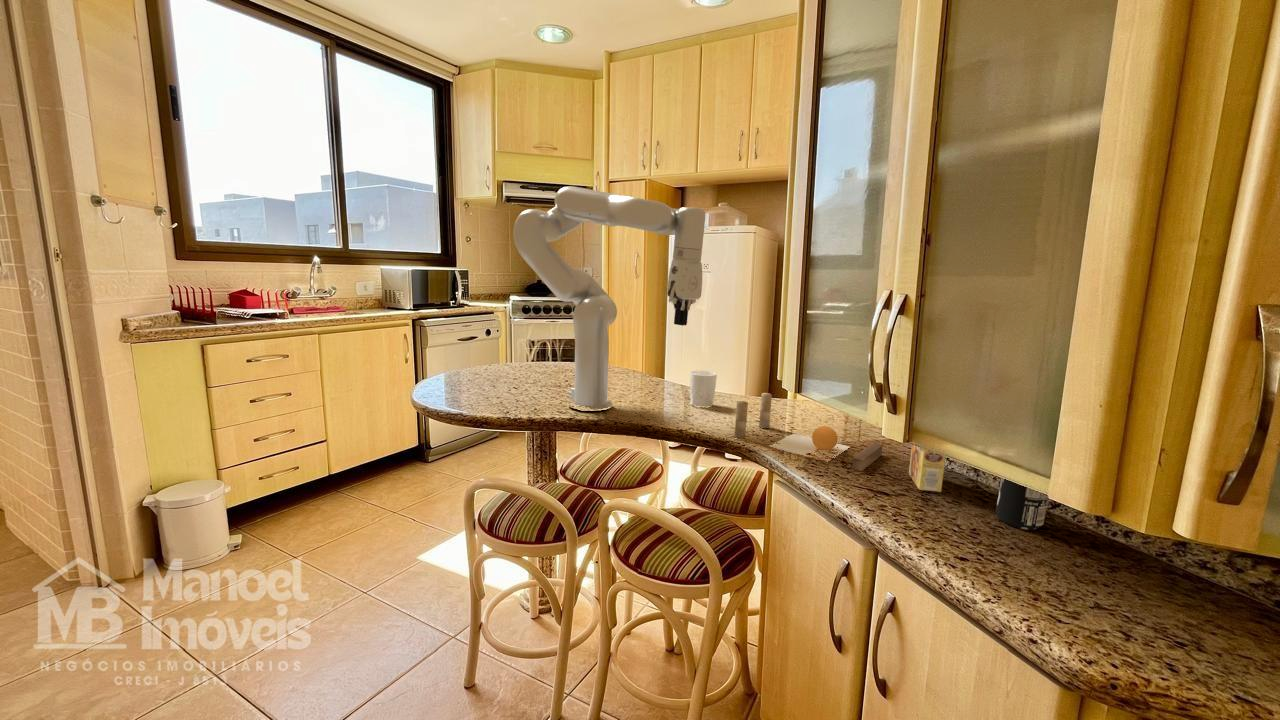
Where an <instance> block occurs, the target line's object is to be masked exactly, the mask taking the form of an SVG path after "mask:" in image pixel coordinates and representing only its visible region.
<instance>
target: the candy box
mask: <svg viewBox="0 0 1280 720" xmlns="http://www.w3.org/2000/svg"><path fill="white" fill-rule="evenodd" d="M910 449H911V451H910V459H909V467H908V474H909V476H910V478H911V479H912V481H913V483H914V485H916V487H917V489H918V490H919V491H927V492H936V493H941V492H942V488H943V481H944V480H943V479H944V473H945V466H946V465H945V464H946V457H947V455H946V456H944V455H941V454H937V453H934V452H932V451H929V450H927V449H924V448H921V447H918V446H915V445H912V444H911V448H910Z"/></svg>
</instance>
